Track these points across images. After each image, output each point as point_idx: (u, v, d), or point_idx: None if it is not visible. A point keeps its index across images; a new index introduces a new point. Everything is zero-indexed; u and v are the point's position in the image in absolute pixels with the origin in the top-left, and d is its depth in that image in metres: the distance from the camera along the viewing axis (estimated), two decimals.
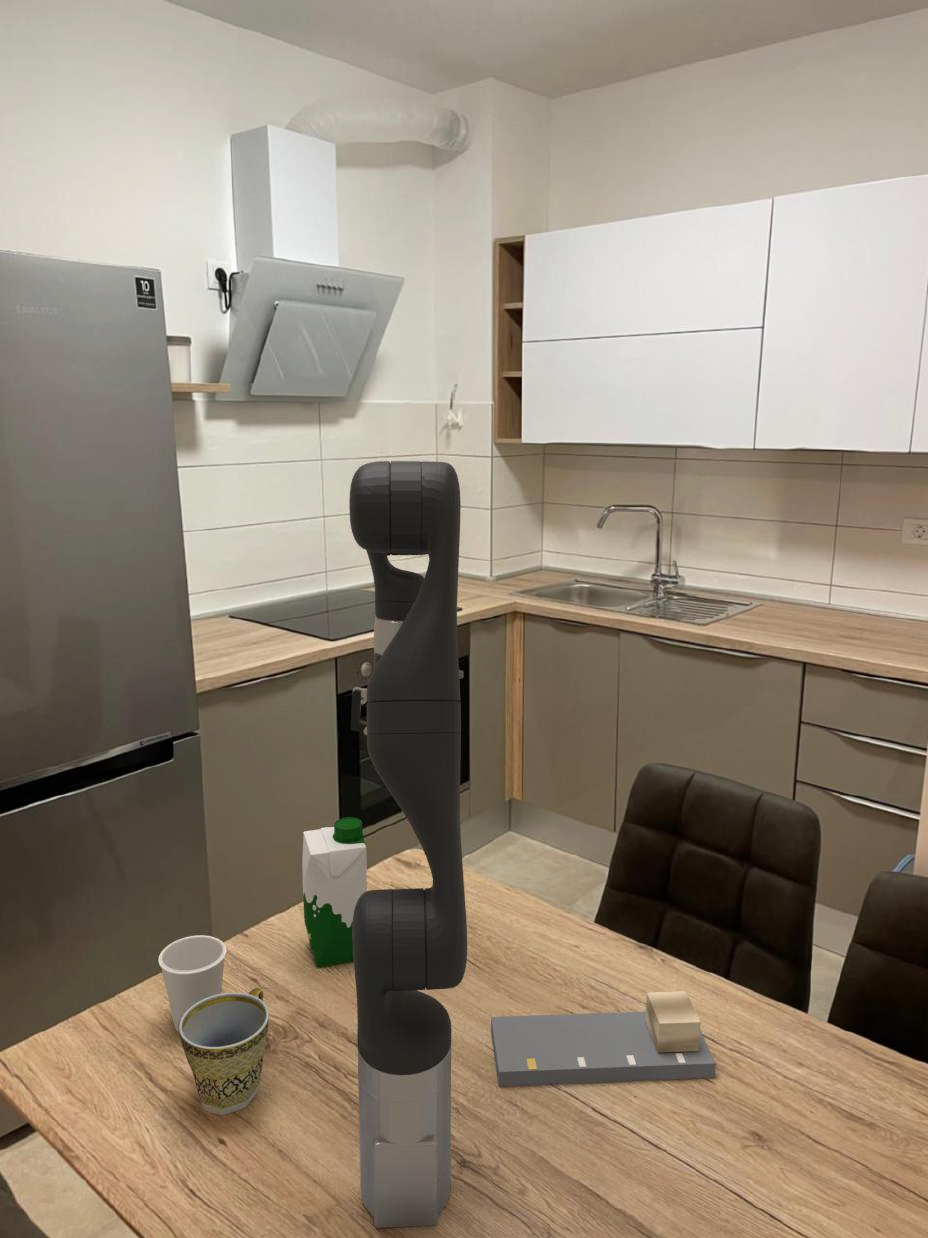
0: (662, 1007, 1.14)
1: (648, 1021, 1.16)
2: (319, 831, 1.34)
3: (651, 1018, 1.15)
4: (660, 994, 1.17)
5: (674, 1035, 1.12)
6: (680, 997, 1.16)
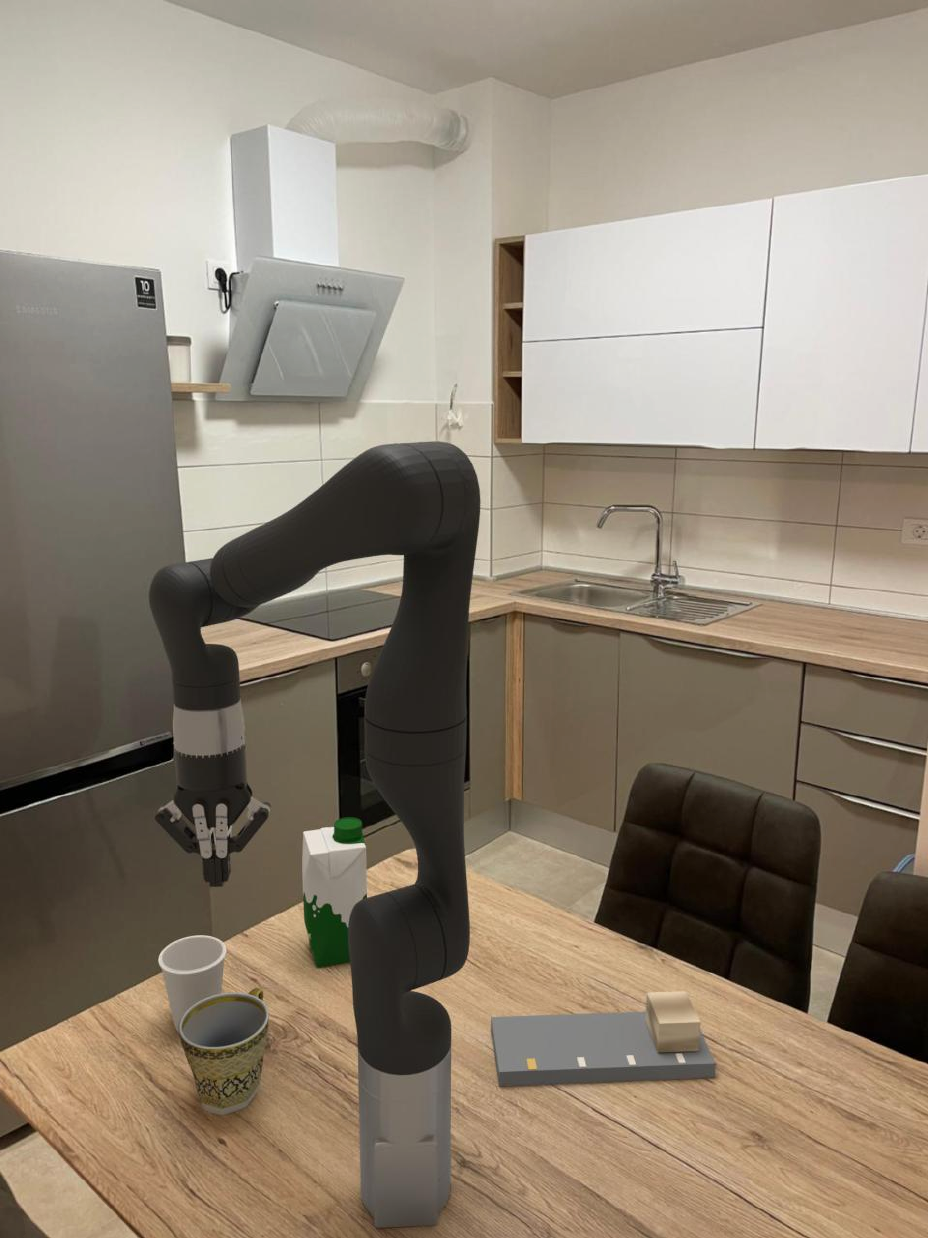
0: (662, 1007, 1.14)
1: (648, 1021, 1.16)
2: (319, 831, 1.34)
3: (651, 1018, 1.15)
4: (660, 994, 1.17)
5: (674, 1035, 1.12)
6: (680, 997, 1.16)
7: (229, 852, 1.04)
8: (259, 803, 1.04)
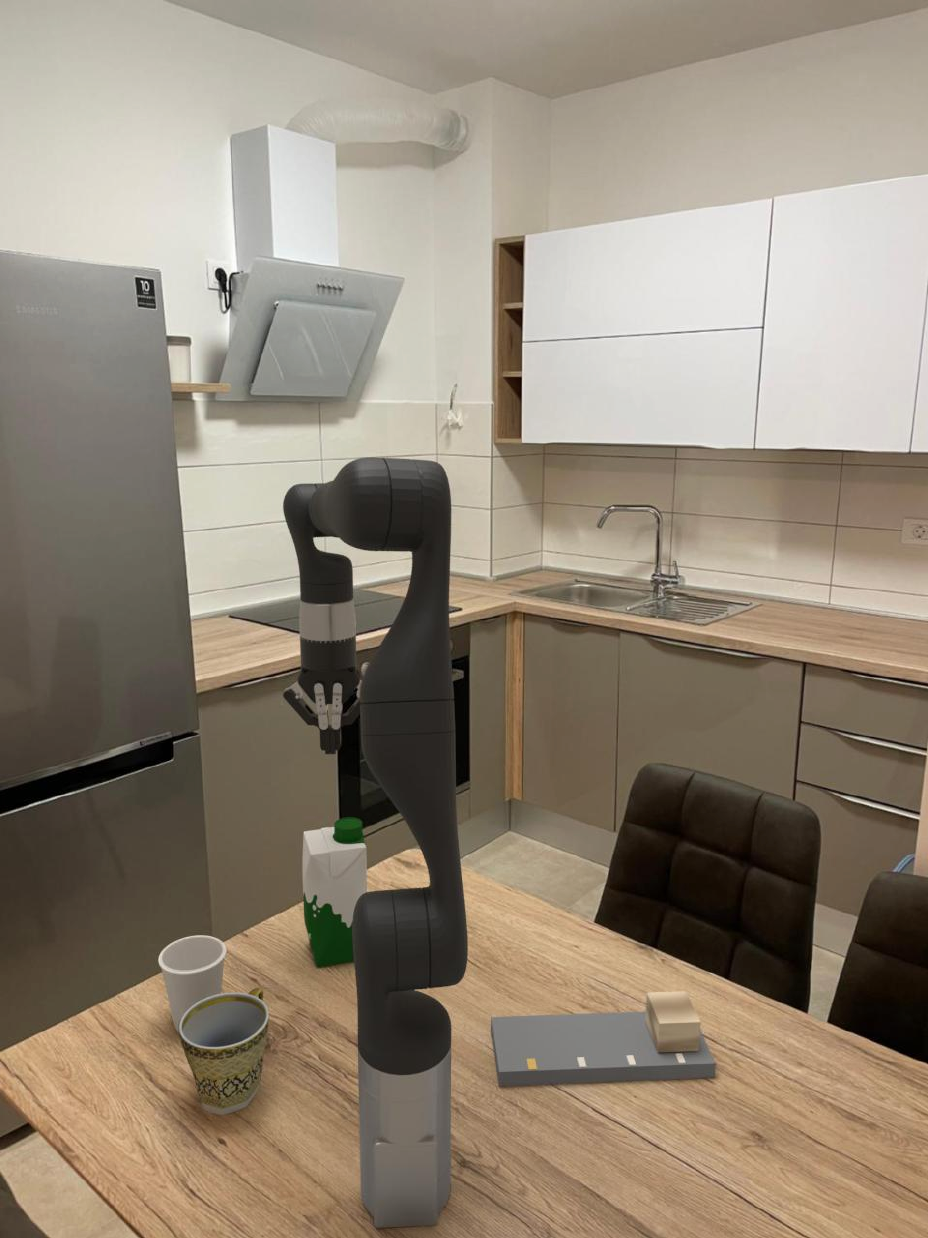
0: (662, 1007, 1.14)
1: (648, 1021, 1.16)
2: (319, 831, 1.34)
3: (651, 1018, 1.15)
4: (660, 994, 1.17)
5: (674, 1035, 1.12)
6: (680, 997, 1.16)
7: (341, 725, 1.27)
8: None
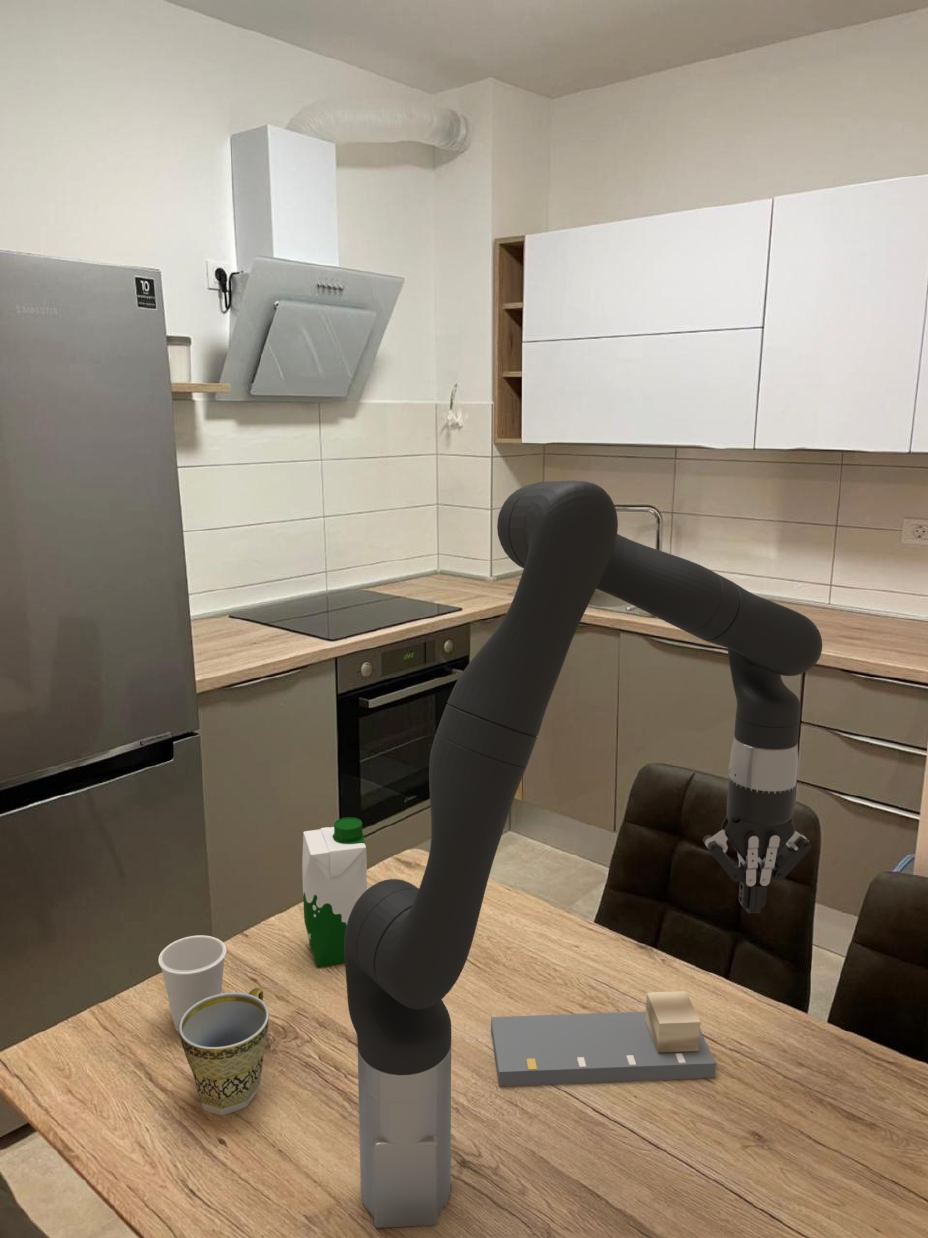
0: (662, 1007, 1.14)
1: (648, 1021, 1.16)
2: (319, 831, 1.34)
3: (651, 1018, 1.15)
4: (660, 994, 1.17)
5: (674, 1035, 1.12)
6: (680, 997, 1.16)
7: None
8: (799, 834, 1.10)
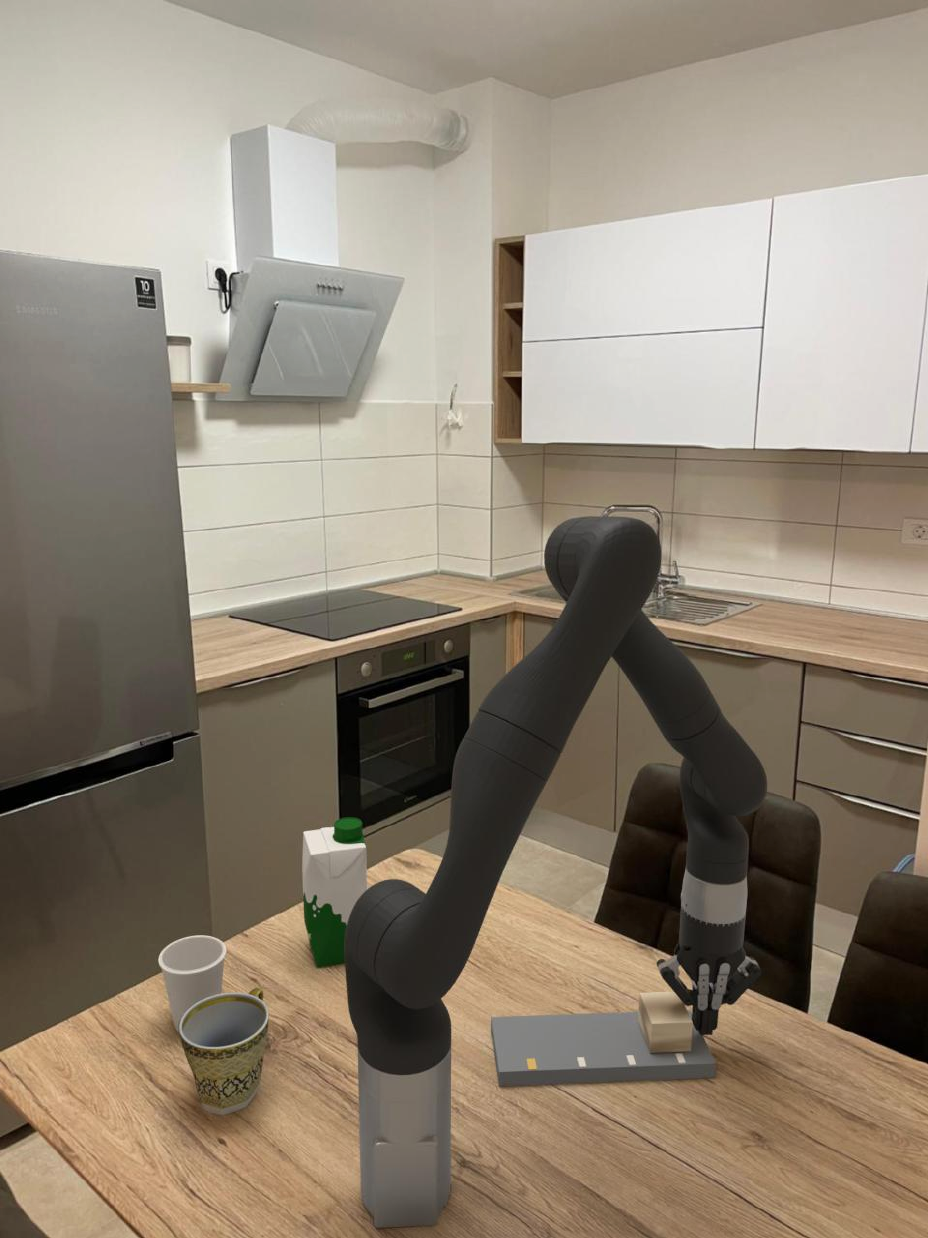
0: (655, 1008, 1.14)
1: (641, 1021, 1.16)
2: (319, 831, 1.34)
3: (643, 1018, 1.15)
4: (653, 994, 1.16)
5: (667, 1036, 1.12)
6: (673, 997, 1.16)
7: (720, 1004, 1.13)
8: (750, 959, 1.13)
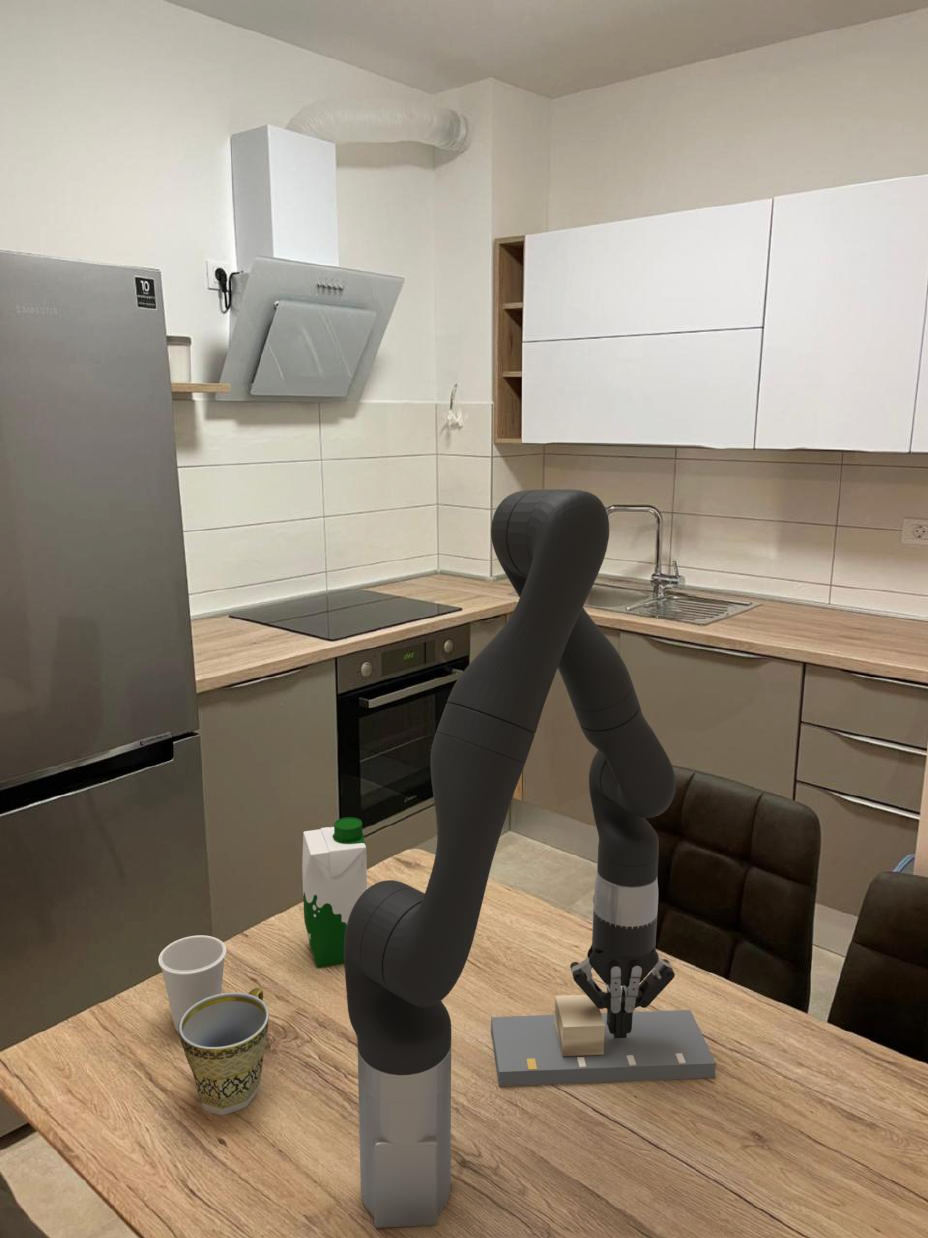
0: (569, 1011, 1.13)
1: (556, 1024, 1.15)
2: (319, 831, 1.34)
3: (558, 1021, 1.14)
4: (568, 997, 1.16)
5: (579, 1039, 1.11)
6: (588, 1000, 1.15)
7: (634, 1007, 1.13)
8: (663, 962, 1.12)
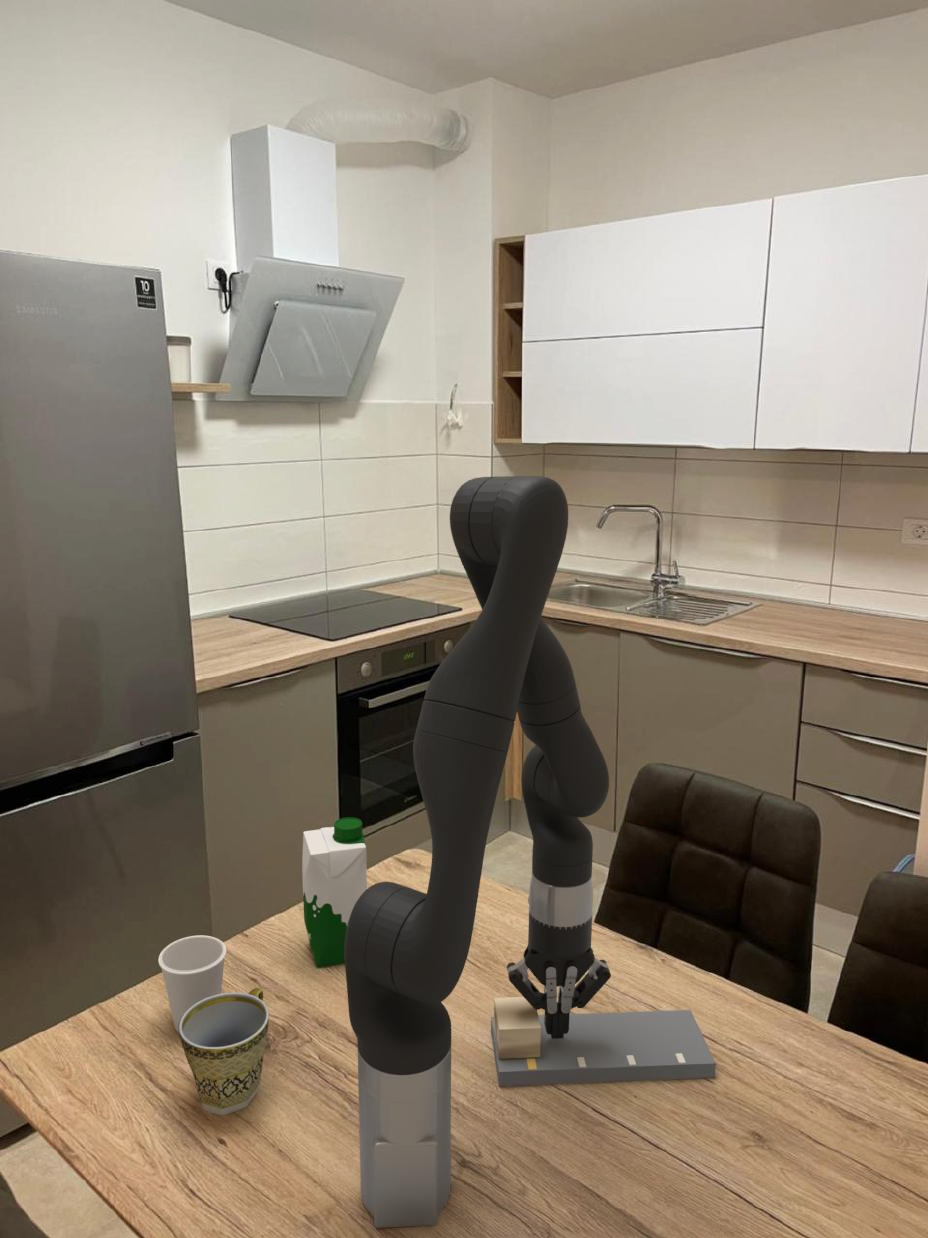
0: (506, 1013, 1.13)
1: None
2: (319, 831, 1.34)
3: None
4: (507, 999, 1.15)
5: (515, 1041, 1.10)
6: (527, 1002, 1.15)
7: (571, 1007, 1.12)
8: (600, 962, 1.12)
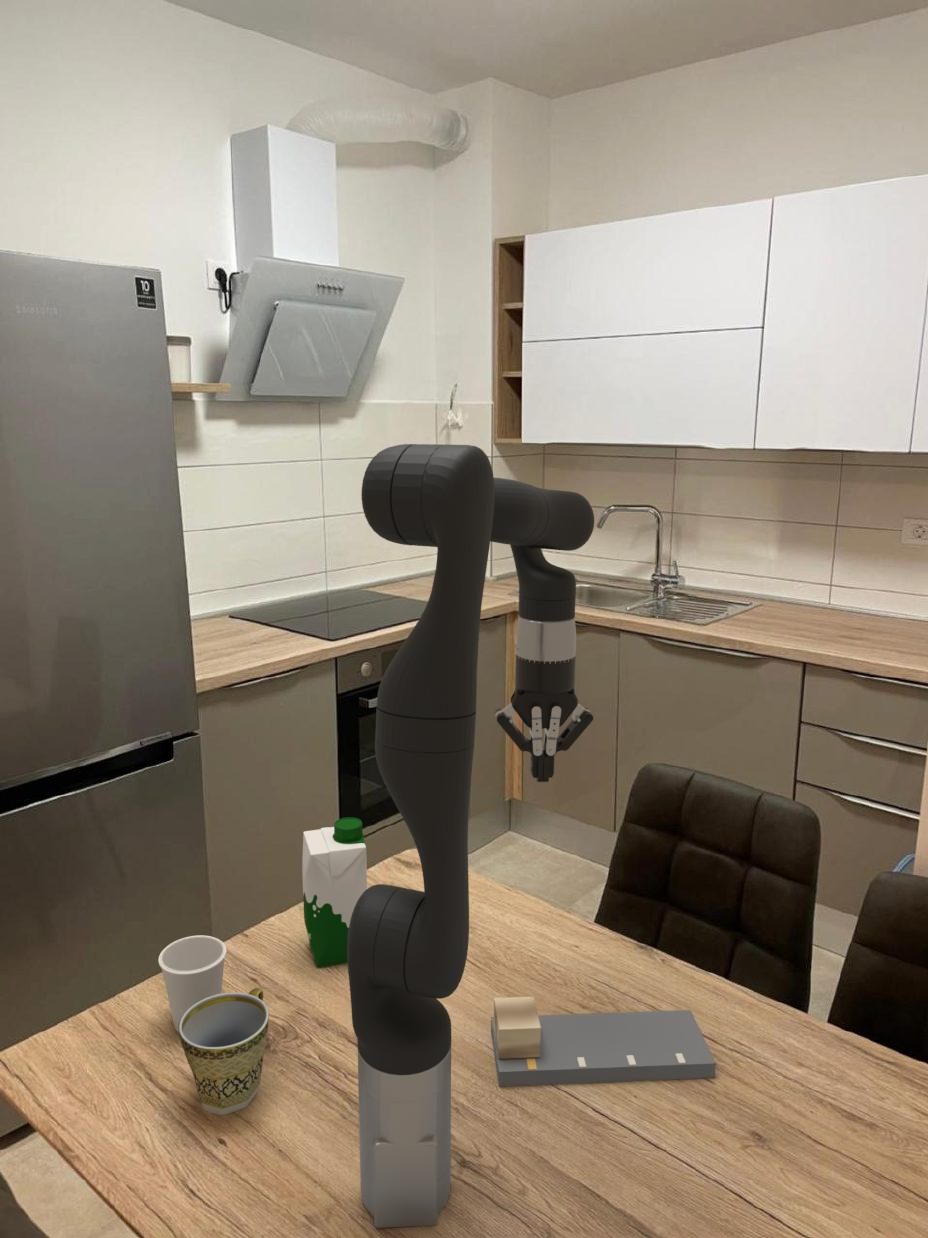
0: (506, 1013, 1.13)
1: (494, 1027, 1.15)
2: (319, 831, 1.34)
3: (496, 1024, 1.14)
4: (507, 999, 1.15)
5: (515, 1041, 1.10)
6: (526, 1002, 1.15)
7: (556, 751, 1.19)
8: (583, 707, 1.18)
